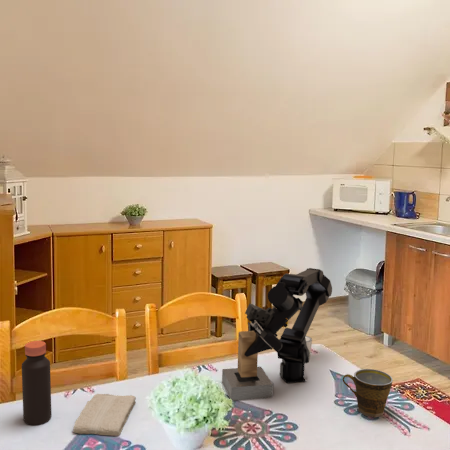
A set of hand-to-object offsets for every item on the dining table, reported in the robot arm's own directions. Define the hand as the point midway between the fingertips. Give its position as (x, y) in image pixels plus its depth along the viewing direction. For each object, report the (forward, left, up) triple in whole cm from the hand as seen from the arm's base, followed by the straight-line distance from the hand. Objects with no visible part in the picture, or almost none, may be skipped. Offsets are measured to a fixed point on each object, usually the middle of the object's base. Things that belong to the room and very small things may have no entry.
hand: (243, 352), depth 150 cm
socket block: (-1, 0, -12) cm, 12 cm away
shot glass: (-25, -19, -12) cm, 34 cm away
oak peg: (-1, 0, -7) cm, 7 cm away
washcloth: (+38, +9, -12) cm, 41 cm away
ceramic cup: (-30, +17, -12) cm, 37 cm away
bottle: (+56, +7, -12) cm, 57 cm away
